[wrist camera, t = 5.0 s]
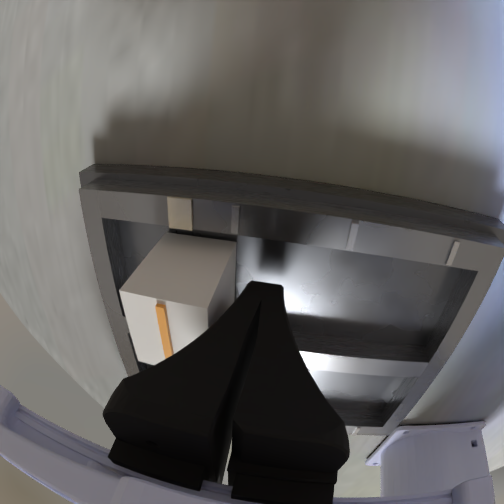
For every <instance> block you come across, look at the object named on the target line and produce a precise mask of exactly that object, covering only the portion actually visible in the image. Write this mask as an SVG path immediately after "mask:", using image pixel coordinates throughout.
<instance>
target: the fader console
mask: <svg viewBox="0 0 504 504" xmlns="http://www.w3.org/2000/svg"><path fill="white" fill-rule="evenodd" d="M79 175H80V182H81V188H80V189H79V194H80V200H81V206H82V211H83V217H84V222H85V227H86V232H87V237H88V242H89V246H90V251H91V255H92V260H93V264H94V268H95V272H96V276H97V280H98V284H99V287H100V291H101V295H102V298H103V302H104V305H105V309H106V312H107V315H108V319H109V322H110V325H111V328H112V331H113V334H114V337H115V340H116V343H117V346H118V349H119V352H120V355H121V358H122V360H123V363H124V366H125V369H126V371H127V374H128V377H129V376H132V375H134V374H136V373H139V372H141V371H143V370H146V369H148V368H150V367H152V366H154V365H151V364H148V363H144V362H140V361H138V358H137V355H136V351H135V348H134V345H133V341H132V338H131V334H130V331H129V327H128V323H127V320H126V316H125V312H124V308H123V304H122V300H121V296H120V292H119V290H120V289H121V287H122V286H123V285H124V284H125V282H126V281H127V280H128V278H129V277H130V276H131V275H132V273H133V272H134V271H135V270H136V268H137V267H138V266H139V265H140V263H141V262H142V261H143V260H144V258H145V257H146V256H147V255H148V253H149V252H150V251H151V250H152V249H153V247H154V246H155V245H156V244H157V243H158V241H159V240H160V239H161V238H162V237H163V235H164V234H165V233H166V232H168V233H175V234H183V235H190V236H197V237H204V238H212V239H219V240H226V241H233V242H236V268H235V297H234V301H235V300H236V299H237V298H238V296H239V295H240V294H241V293H242V291H243V290H244V288H245V287H246V285H247V284H248V282H250V281H251V280H253V281H259V282H266V283H272V284H279V285H282V286H283V287H284V301H285V307H286V312H287V316H288V319H289V323H290V327H291V330H292V333H293V336H294V339H295V341H296V344H297V346H298V349H299V351H300V354H301V356H302V358H303V360H304V362H305V364H306V366H307V368H308V370H309V372H310V374H311V375H312V377H313V379H314V380H315V382H316V384H317V385H318V387H319V389H320V390H321V392H322V393H323V395H324V396H325V398H326V399H327V400H328V402H329V403H330V405H331V406H332V407H333V409H334V410H335V411H336V412H337V414H338V415H339V416H340V417H341V418H342V420H343V421H344V423H345V426H346V430H347V434H352V435H390V434H391V433H392V432H393V431H394V430H395V429H396V427H397V426H398V425H399V424H400V423H401V422H402V420H403V419H404V418H405V417H406V416H407V414H408V413H409V412H410V411H411V409H412V408H413V407H414V406H415V404H416V403H417V402H418V401H419V399H420V398H421V397H422V395H423V394H424V393H425V391H426V390H427V389H428V387H429V386H430V385H431V383H432V382H433V380H434V379H435V378H436V376H437V375H438V373H439V372H440V370H441V369H442V368H443V366H444V365H445V363H446V362H447V360H448V359H449V357H450V356H451V354H452V352H453V351H454V349H455V348H456V346H457V345H458V343H459V341H460V340H461V338H462V336H463V335H464V333H465V331H466V330H467V328H468V326H469V325H470V323H471V321H472V319H473V318H474V316H475V314H476V312H477V310H478V308H479V307H480V305H481V303H482V301H483V299H484V297H485V295H486V293H487V291H488V289H489V287H490V285H491V283H492V281H493V279H494V277H495V275H496V273H497V270H498V268H499V266H500V264H501V261H502V259H503V257H504V224H503V223H502V222H501V221H500V220H499V219H496V218H492V217H488V216H484V215H481V214H477V213H473V212H469V211H465V210H460V209H456V208H452V207H448V206H443V205H439V204H434V203H430V202H425V201H420V200H416V199H411V198H406V197H401V196H396V195H390V194H385V193H380V192H374V191H369V190H363V189H357V188H351V187H345V186H339V185H332V184H326V183H319V182H312V181H305V180H298V179H290V178H282V177H274V176H266V175H257V174H248V173H238V172H228V171H217V170H205V169H193V168H178V167H162V166H143V165H115V164H93V165H91V166H89V167H88V168H86V169H84V170H82V171H80V172H79Z"/></svg>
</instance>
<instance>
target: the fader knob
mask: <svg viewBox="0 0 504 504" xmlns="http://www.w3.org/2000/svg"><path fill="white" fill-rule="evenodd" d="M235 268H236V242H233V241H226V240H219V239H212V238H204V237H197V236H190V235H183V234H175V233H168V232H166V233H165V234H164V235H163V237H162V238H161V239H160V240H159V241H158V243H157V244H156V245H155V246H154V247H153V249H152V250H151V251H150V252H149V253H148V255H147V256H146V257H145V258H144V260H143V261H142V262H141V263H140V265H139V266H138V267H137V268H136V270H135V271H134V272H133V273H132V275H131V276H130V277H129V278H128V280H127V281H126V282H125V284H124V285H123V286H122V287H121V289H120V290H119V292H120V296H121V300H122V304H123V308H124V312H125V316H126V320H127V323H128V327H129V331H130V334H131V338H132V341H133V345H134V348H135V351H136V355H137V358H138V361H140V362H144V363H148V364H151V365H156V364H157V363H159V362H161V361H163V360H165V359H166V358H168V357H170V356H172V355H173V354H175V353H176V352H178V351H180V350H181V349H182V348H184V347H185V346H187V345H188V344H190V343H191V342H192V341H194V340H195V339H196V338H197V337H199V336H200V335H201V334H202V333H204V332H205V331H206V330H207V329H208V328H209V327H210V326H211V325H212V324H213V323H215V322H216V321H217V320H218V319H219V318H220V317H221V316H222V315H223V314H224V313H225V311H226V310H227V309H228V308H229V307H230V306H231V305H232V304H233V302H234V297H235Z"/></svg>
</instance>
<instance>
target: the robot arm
mask: <svg viewBox="0 0 504 504" xmlns="http://www.w3.org/2000/svg"><path fill="white" fill-rule="evenodd" d="M103 417H104V419H105V422H106V424H107V425H108V427H109V428H110V430H111V431H112V432H113V434H114V436H115V437H116V439H115V442H114V444H113V446H112V448H111V450H109V449H107V448H104V447H102V446H100V445H98V444H95V443H93V442H91V441H88V440H86V439H84V438H82V437H80V436H78V435H76V434H74V433H72V432H70V431H68V430H66V429H64V428H62V427H60V426H58V425H56V424H54V423H52V422H50V421H48V420H47V419H45V418H43V417H41V416H39V415H38V414H36V413H34V412H32V411H31V410H29V409H27V408H26V407H24V406H22V405H21V404H20V402H19V401H18V399H16V397H15V396H14V395H13V394H12V393H11V392H10V391H8V390H7V389H5V388H4V387H3V386H1V385H0V455H1V456H2V457H3V458H4V459H6V460H7V461H8V462H10V463H11V464H13V465H14V466H15V467H17V468H18V469H20V470H21V471H22V472H24V473H25V474H27V475H28V476H30V477H31V478H33V479H34V480H36V481H37V482H39V483H40V484H42V485H43V486H45V487H47V488H48V489H50V490H52V491H53V492H55V493H57V494H58V495H60V496H62V497H63V498H65V499H67V500H69V501H71V502H72V503H74V504H495V496H494V489H493V481H492V476H491V475H490V473H489V467H488V461H487V456H486V451H485V445H484V441H483V436H482V431H481V430H482V429H483V428H484V427H485V425H486V423H485V421H479V422H469V423H458V424H444V425H424V426H399V427H397V428H396V429H395V430H394V431H393V432H392V433H391V434H390V435H389V436H388V437H387V439H386V440H385V441H384V442H383V443H382V444H381V445H380V446H379V447H378V448H377V449H376V451H375V452H374V453H373V454H372V455H371V456H370V457H369V458H368V459H367V460H366V461H365V465H369V466H373V465H381V497H368V498H335V497H333V494H334V484H336V482H337V471H338V470H339V469H340V468H341V467H342V466H343V465H344V463H345V462H346V461H347V460H348V458H349V453H350V449H349V440H348V435H347V430H346V426H345V423H344V421H343V420H342V418H341V417H340V416H339V415H338V414H337V412H336V411H335V410H334V409H333V407H332V406H331V405H330V403H329V402H328V400H327V399H326V398H325V396H324V395H323V393H322V392H321V390H320V389H319V387H318V385H317V384H316V382H315V380H314V379H313V377H312V375H311V374H310V372H309V370H308V368H307V366H306V364H305V362H304V360H303V358H302V356H301V354H300V351H299V349H298V346H297V344H296V341H295V339H294V336H293V333H292V330H291V327H290V323H289V319H288V316H287V312H286V307H285V301H284V287H283V286H282V285H279V284H272V283H266V282H259V281H253V280H251V281H250V282H248V284H247V285H246V287H245V288H244V290H243V291H242V293H241V294H240V295H239V296H238V298H237V299H236V300H235V301H234V302H233V304H232V305H231V306H230V307H229V308H228V309H227V310H226V311H225V313H224V314H223V315H222V316H221V317H220V318H219V319H218V320H217V321H216V322H215V323H213V324H212V325H211V326H210V327H209V328H208V329H207V330H206V331H205V332H204V333H202V334H201V335H200V336H199V337H197V338H196V339H195V340H194V341H192V342H191V343H190V344H188V345H187V346H185V347H184V348H182V349H181V350H180V351H178V352H176V353H175V354H173V355H172V356H170V357H168V358H166V359H165V360H163V361H161V362H159V363H157V364H156V365H154V366H152V367H150V368H148V369H146V370H143V371H141V372H139V373H136V374H134V375H132V376H129V377H127V378H124V379H123V380H122V381H121V383H120V384H119V385H118V387H117V388H116V389H115V391H114V392H113V394H112V396H111V398H110V399H109V401H108V403H107V405H106V407H105V409H104V411H103ZM231 440H232V452H231V456H230V460H229V464H228V468H227V471H228V485H224V484H222V481H223V476H224V472H225V467H226V462H227V458H228V453H229V449H230V444H231Z"/></svg>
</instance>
